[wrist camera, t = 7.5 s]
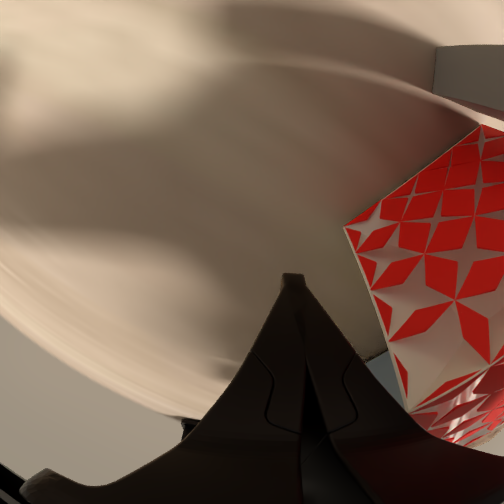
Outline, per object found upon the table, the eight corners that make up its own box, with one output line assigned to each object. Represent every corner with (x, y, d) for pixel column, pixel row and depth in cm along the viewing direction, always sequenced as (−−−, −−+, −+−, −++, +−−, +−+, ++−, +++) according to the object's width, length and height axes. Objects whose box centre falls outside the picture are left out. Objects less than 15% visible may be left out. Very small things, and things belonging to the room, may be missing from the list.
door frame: (329, 390, 19) (332, 472, 13) (436, 47, 7) (566, 51, 1) (359, 390, 19) (367, 469, 13) (482, 69, 7) (604, 100, 1)
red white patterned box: (342, 226, 11) (406, 414, 4) (480, 123, 8) (630, 208, 1) (411, 326, 14) (453, 452, 7) (515, 250, 11) (589, 350, 4)
